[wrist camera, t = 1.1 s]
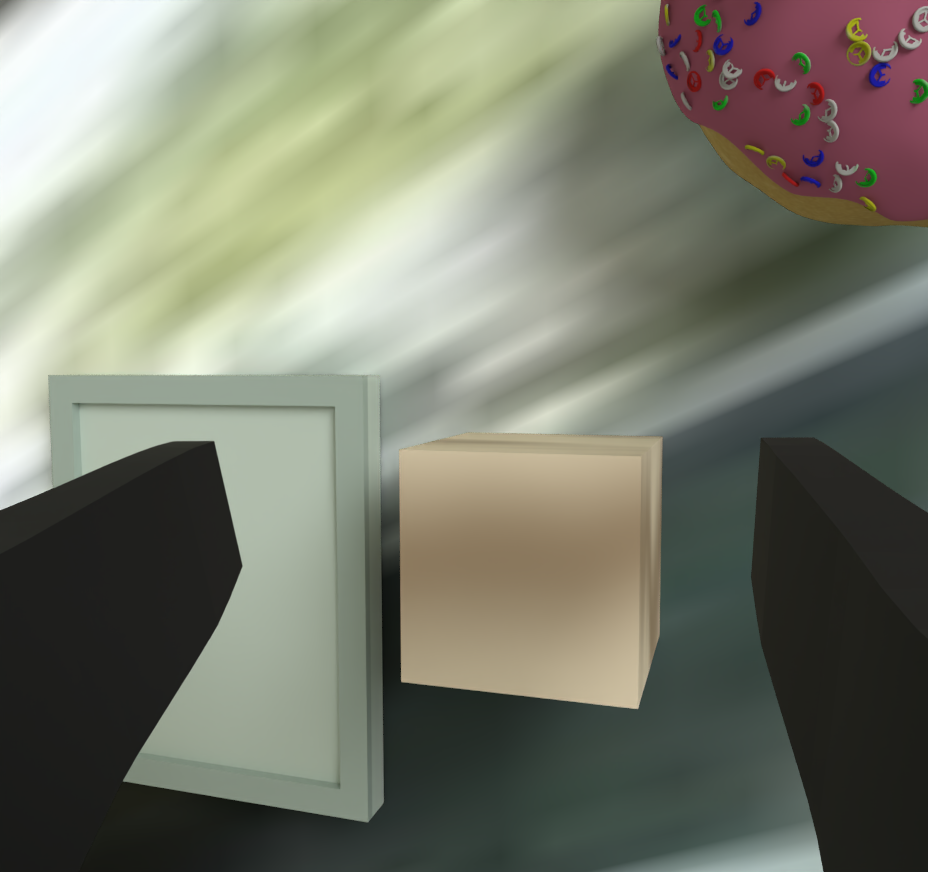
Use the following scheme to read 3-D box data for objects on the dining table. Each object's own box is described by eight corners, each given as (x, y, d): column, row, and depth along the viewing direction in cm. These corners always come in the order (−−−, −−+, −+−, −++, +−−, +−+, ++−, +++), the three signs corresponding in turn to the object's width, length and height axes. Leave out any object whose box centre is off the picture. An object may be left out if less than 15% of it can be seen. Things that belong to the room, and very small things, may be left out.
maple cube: (659, 634, 22) (637, 709, 17) (469, 617, 23) (401, 681, 19) (662, 436, 21) (641, 456, 17) (469, 432, 23) (399, 449, 18)
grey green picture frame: (383, 802, 24) (368, 822, 23) (89, 755, 27) (64, 771, 26) (379, 375, 23) (362, 375, 22) (75, 374, 26) (48, 375, 25)
